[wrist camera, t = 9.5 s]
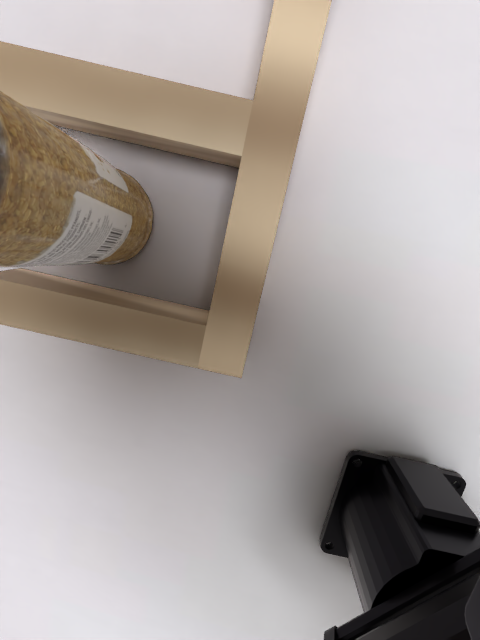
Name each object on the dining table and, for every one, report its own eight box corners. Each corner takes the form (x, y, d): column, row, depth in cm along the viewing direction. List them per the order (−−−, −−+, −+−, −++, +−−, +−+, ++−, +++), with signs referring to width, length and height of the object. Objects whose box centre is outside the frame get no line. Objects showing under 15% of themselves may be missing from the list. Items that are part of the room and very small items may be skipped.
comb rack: (243, 356, 20) (241, 378, 17) (18, 305, 19) (-25, 318, 16) (352, -106, 15) (376, -188, 12) (59, -177, 15) (11, -277, 12)
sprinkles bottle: (138, 157, 18) (-182, -156, 4) (166, 252, 18) (-37, 232, 5) (47, 184, 18) (-524, -38, 5) (78, 276, 19) (-339, 320, 5)
